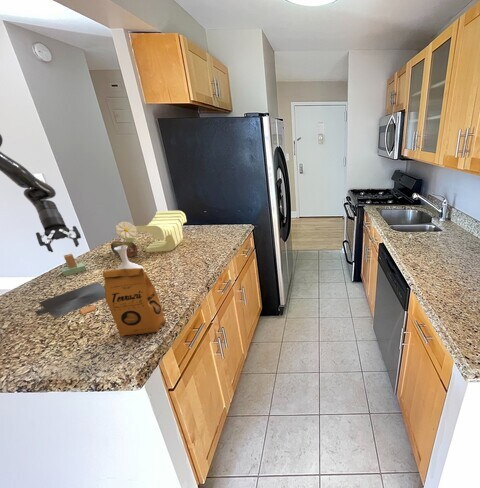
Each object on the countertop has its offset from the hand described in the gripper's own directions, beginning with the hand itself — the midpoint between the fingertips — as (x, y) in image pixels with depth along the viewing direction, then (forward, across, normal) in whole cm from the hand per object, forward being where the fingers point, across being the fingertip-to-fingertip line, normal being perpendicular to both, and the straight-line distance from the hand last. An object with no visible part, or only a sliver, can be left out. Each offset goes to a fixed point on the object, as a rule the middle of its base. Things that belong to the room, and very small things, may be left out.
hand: (64, 248), depth 121 cm
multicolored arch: (+8, +22, +8) cm, 24 cm away
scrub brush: (+10, 0, +5) cm, 11 cm away
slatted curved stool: (+10, +40, +5) cm, 42 cm away
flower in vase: (+27, +17, -12) cm, 34 cm away
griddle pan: (+34, -3, -18) cm, 39 cm away
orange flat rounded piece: (+43, -2, -28) cm, 51 cm away
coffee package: (+60, +8, -45) cm, 76 cm away
